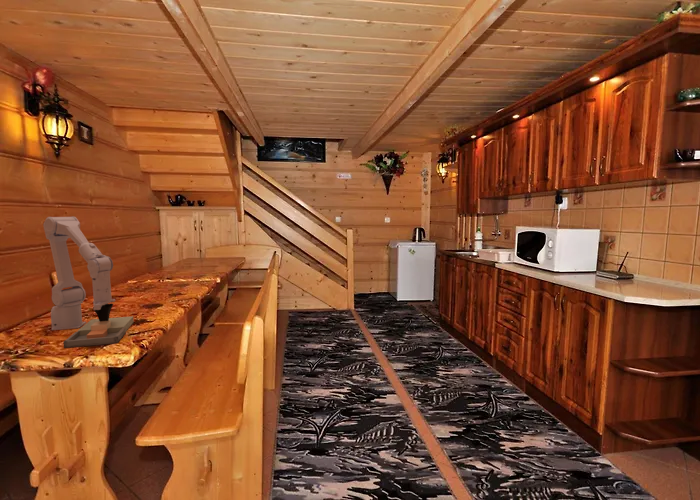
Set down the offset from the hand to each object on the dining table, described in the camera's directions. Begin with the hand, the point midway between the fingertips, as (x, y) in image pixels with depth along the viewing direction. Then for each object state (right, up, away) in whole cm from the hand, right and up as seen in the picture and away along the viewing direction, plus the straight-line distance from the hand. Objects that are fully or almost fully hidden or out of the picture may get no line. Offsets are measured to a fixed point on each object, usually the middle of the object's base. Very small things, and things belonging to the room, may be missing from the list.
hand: (104, 323), depth 143 cm
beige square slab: (-1, -3, +4) cm, 5 cm away
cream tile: (+1, -1, -3) cm, 4 cm away
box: (+3, -4, -9) cm, 10 cm away
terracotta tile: (+3, -4, -8) cm, 9 cm away
